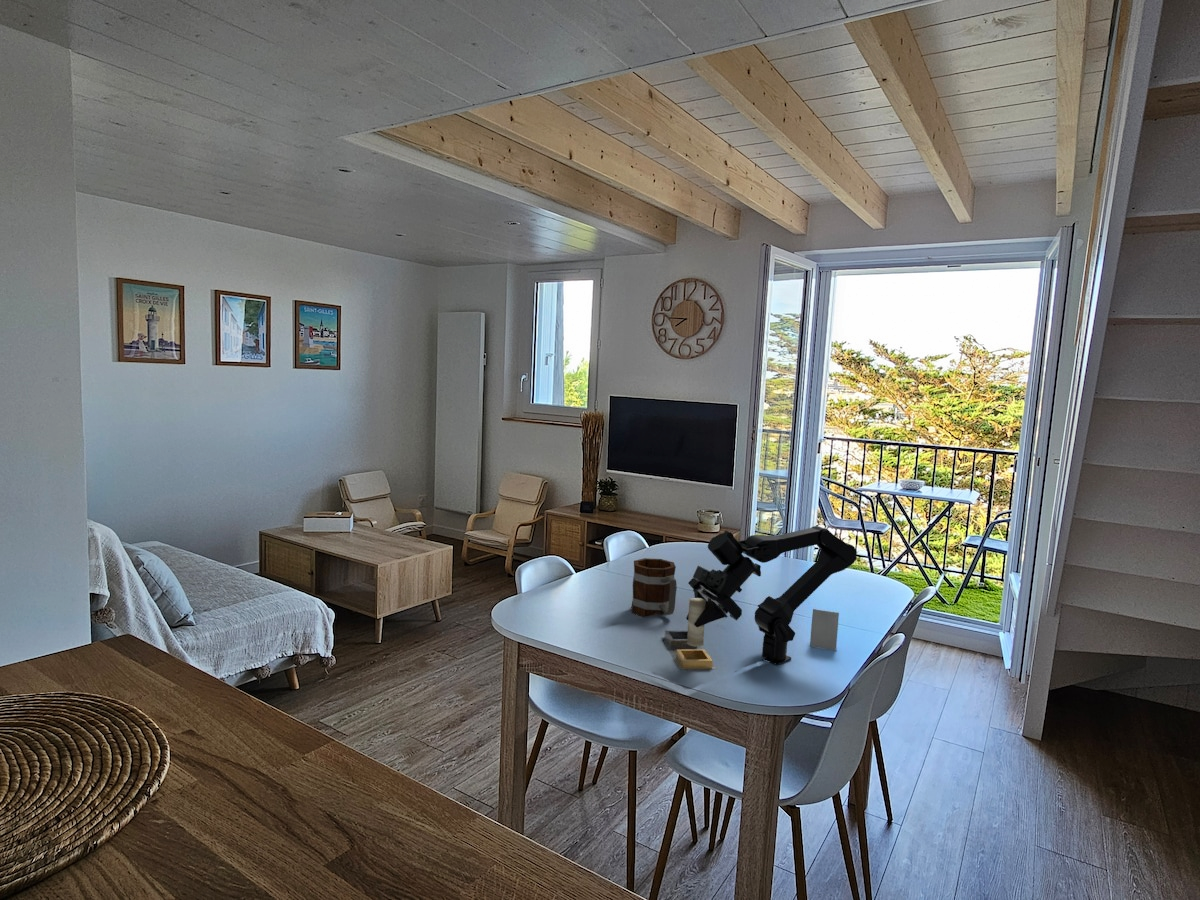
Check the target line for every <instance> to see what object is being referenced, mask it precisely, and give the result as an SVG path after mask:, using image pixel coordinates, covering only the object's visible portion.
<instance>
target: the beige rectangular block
mask: <svg viewBox="0 0 1200 900" xmlns="http://www.w3.org/2000/svg"><path fill="white" fill-rule="evenodd" d="M839 616H840V612H839V611H830V610H825V609H824V610H823V609H817V608H813V609H812V616H811V617H812V619H811V627H810V639H809V647H811V646H812V647H811V648H817V649H824V650H829V651H835V652H836V651H837V646H838V645H837V642H838V631H839V629H838V628H839V619H840V618H839Z"/></svg>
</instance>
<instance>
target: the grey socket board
mask: <svg viewBox="0 0 1200 900" xmlns="http://www.w3.org/2000/svg"><path fill="white" fill-rule="evenodd" d="M687 636H688V630H664V637H660V638H661V640H662V642H663V643H664V646H665V647H666V648H667V650H668V651H669V653H670V655H671V657H672V658H673V660H674V662H675V663H676V665H677V667H678V669H679V670H681V671H682V670H717V668H716V667H715V665H714V664H713V659H712V658H711V656H710V654H709V653H708V652H707V651H706V650H705V648H702V646H699V647H695V646H690V645H688V644H687Z"/></svg>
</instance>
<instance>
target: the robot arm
mask: <svg viewBox="0 0 1200 900" xmlns="http://www.w3.org/2000/svg"><path fill="white" fill-rule="evenodd" d="M812 546H817V547H818V548H819V549H820V550H819V552H818V557H817V560H816V562H814V564H812V565H811V566H810V567H809V568H808V569H807V570H806V571H805V572H804V573H803V574H802V575H800V577H799V578H798V579H797V580H796V581H794V583H792V584H791V586H789V588H787V590H785V592H783V593H782V594H781V595H780V596H779V597H776V598H773V597H772V596H771V595H770V596H769V595H768V596H766V598H765V599H764V600H763V601H762V602H761V603H759V604H758V605H757V608H756V610H755V611H754V622H755V624H756V625H757V627H758V631H760V632H762V633H763V634H764V635H763V639H762V640H763V642H762V649H761V650H762V652H761V656H762V657H763V658H762V660H763V661H765V662H769V663H770V664H773V665H775V666H778V665H782V664H784V663H786V662H788V661H791V660H792V657H791V656H790V655H787V650H788V642H792V641H793V640H794V638H795V635H796V632H795V631H794V630H793V629H792V627H791V626H790V624H791V622H792V619H793V616H794V612H795V610H797V608H798V607H800V606H801V605H802V604H803V603H805V601H806V600H807V599H808V598H809V597H810V596H811V595H813V593H814V592H815V591H816V590H817V589H818V588H819V587H820V586H821V585H822V584H823V583H824V582H826V581H827V579H828V578H829V577H831V576H832V575H833V574H837V573H839V572H843V571H846V569H848V568H849V567H850V566H852V565H853V564H854V563H855V562H856V560H857V554H858V553H857V549H856V547H855V546H854V545H852V544H850V543H847V542H845V541H843V540H842V539H841V538H839V537H837V536H836V535H835V534H833V533H832V532H831V531H830V530H829V529H827V528H824V527H821V526H818V525H814V526H812V527H810V528H806V529H804V528H803V529H801V530H795V531H791V532H787V533H782V534H778V535H766V534H754V535H753V534H752V535H749V536H747V537H746V539H741V540H737V539H736V538H735V536H734V534H733V533H732V532H731V531H729V530H724V532H722V533H719V534H717V535H716V536H713V537H712V538H711V539H710V540H709V542H708V544H707V548H708V551H710V552H711V554H712V555H713V556H714V557H715V558H716V559H717V560H718V561H719V562H720V564H722V565H723V566H726V567H725V568H724V569H723V570H720V569H718V570H715V569H714V568H712V569H711V570H708V569H707V568H705V567H702V566H701V565H697V566H696V569H695V571H694V574H693V575H692V578H691V579H690V580H689V582H688V585H689V586H690V587H691V588H692V592H693V594H694V595H693V596H694V598H701V599H704V600H705V601H706V605H705V610H704V611H703V612H702V614H701V615H700V616H699V618H698V619H697V620H696V622H695V623H694V625H695V626H696V627H699V626H702V625H704V626H705V625H707V624H709V623H711V622H715V621H717V620H721V619H724V618H725V619H726V618H728V615H727V614H729V617H730V618H732V619H733V620H735V621H738V620H739V619H740V617H742V615H743V609H742V608H741V607H740V606H739V605H738V604H737V602H736V601H735V600H733V598H732V596H733V595H735V593H736V592H737V593H741V592H742V591H743V589H742V588H741V587H742V585H744V583H746V581H747V580H748V579H749V578H750V576H752V575H755V576H757V577H761V576H762V572H761V571H762V570H761V568H762V567H761V565H760V564H758V563H754V562H753V560H755V561H757V562H760V563H763V564H764V563H768V562H771V561H773V560H775V559H777V558H778V557H780V555H782V554H784V553H786V552H791V551H795V550H800V549H804V548H808V547H812ZM743 554H744V555H746V556H744V555H743ZM752 559H753V560H752ZM688 616H689V612H688V614H687V615H686V618H685V619H686V620H687V621H688Z"/></svg>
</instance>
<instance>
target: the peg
mask: <svg viewBox="0 0 1200 900" xmlns="http://www.w3.org/2000/svg"><path fill="white" fill-rule="evenodd" d="M688 601H689V602H688V613H689V616H688V620H687V631H688V636H687V644H688V645H690V646H695V647H699V646H700V647H703V646H704V641H705V640H704V639H705V624H704V625H702V626H699V627H696V626H695V625H694V623H695V622H696V620H697V619H698V618H699V616H700V615H701V614H702V612H703V611H704V610H705V605H706V601H705V600H704V599H701V598H695V597H691V598H689V599H688Z"/></svg>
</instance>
